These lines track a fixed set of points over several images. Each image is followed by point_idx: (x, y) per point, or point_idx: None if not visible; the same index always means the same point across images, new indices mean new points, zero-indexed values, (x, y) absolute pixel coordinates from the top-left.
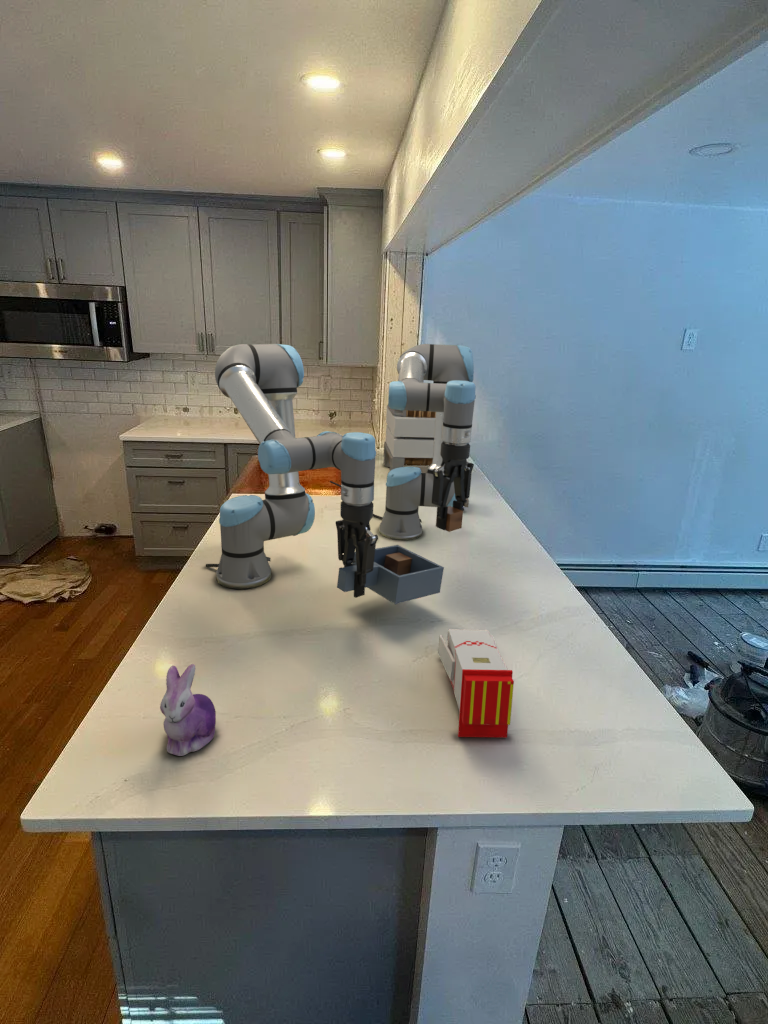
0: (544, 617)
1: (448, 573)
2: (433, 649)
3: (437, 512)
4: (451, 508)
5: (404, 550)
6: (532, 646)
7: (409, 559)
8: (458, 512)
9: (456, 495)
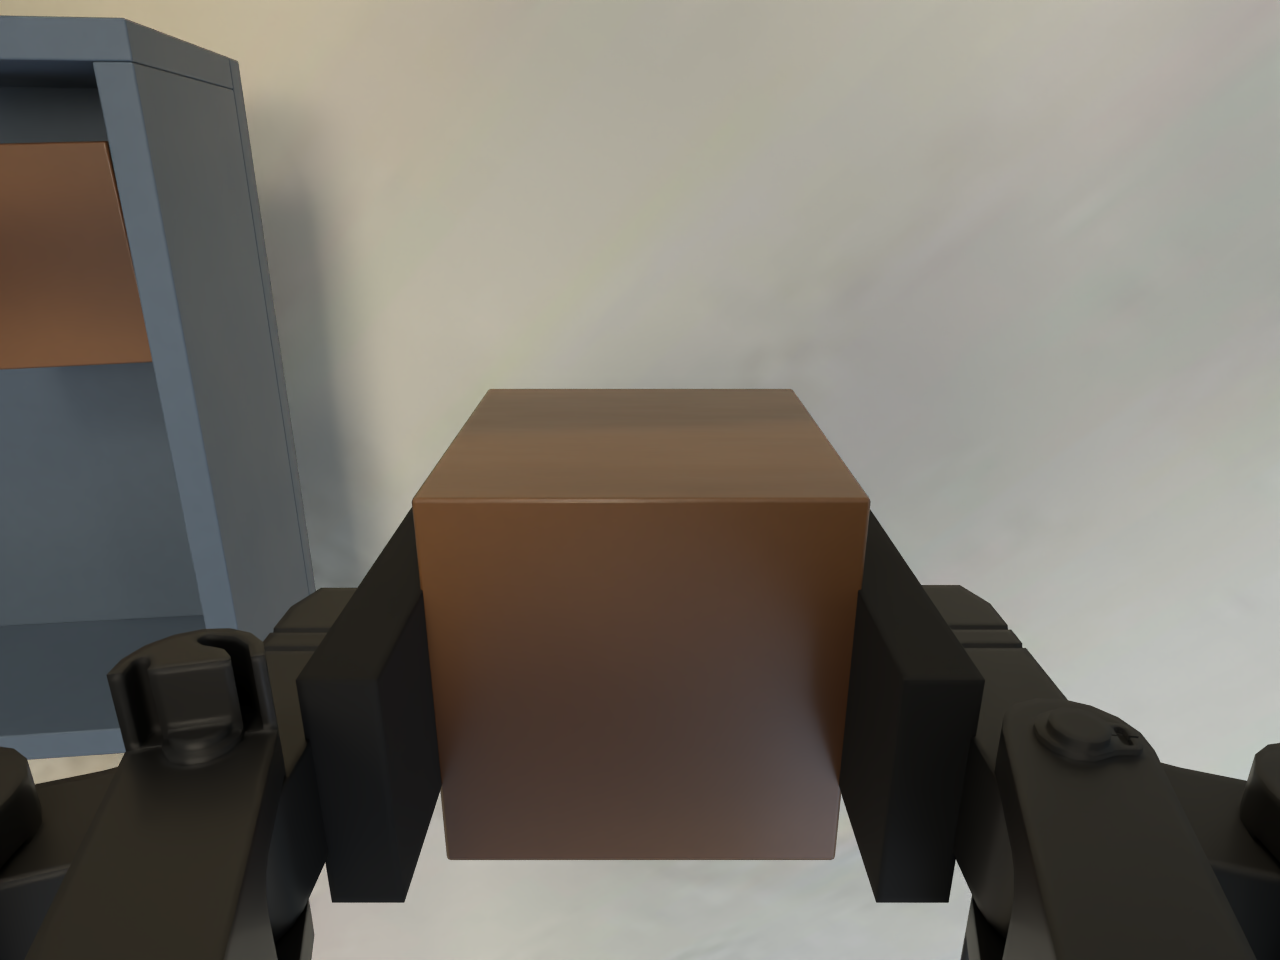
0: (860, 861)
1: (901, 142)
2: None
3: (266, 660)
4: (749, 646)
5: (127, 207)
6: (578, 957)
7: (117, 363)
8: (688, 856)
9: (1023, 861)
